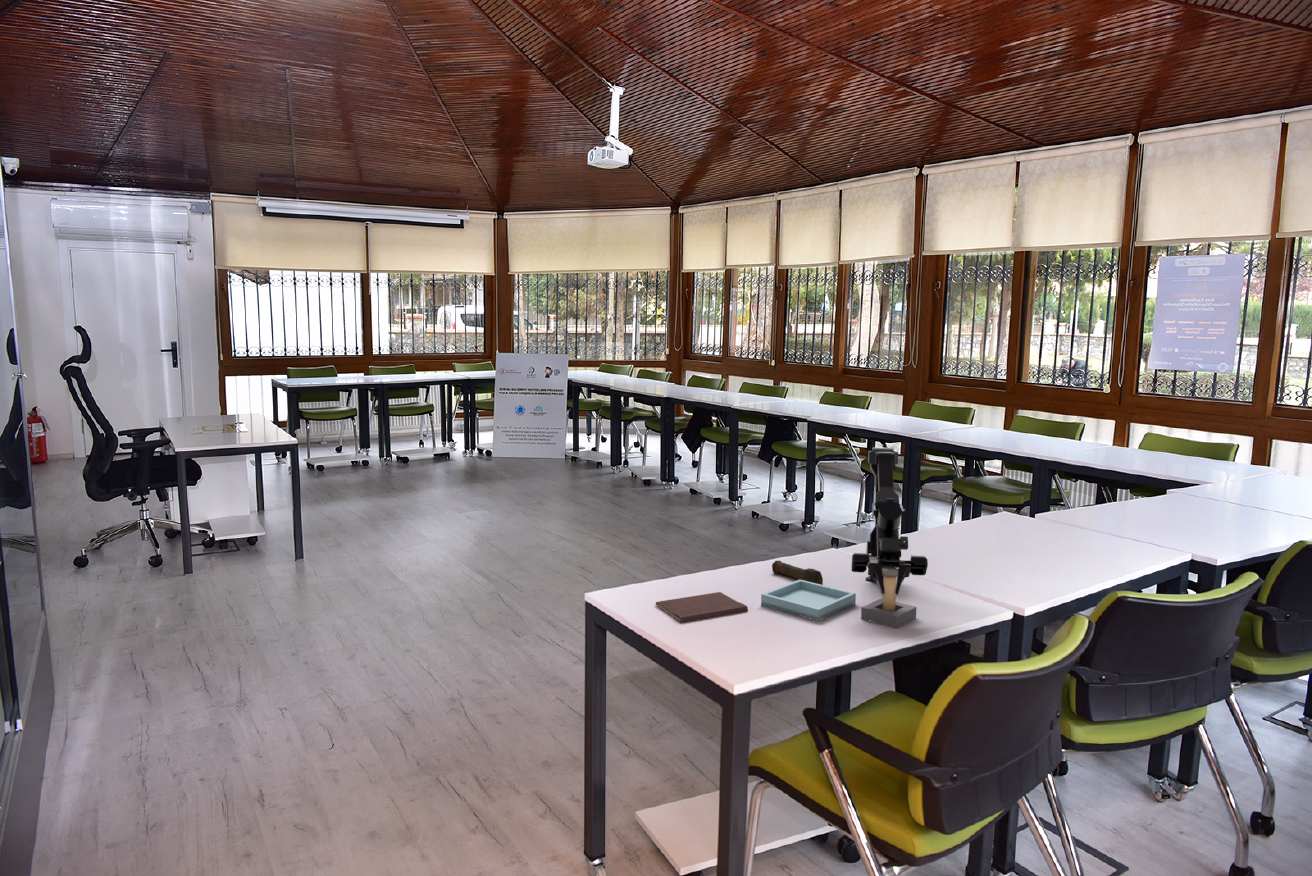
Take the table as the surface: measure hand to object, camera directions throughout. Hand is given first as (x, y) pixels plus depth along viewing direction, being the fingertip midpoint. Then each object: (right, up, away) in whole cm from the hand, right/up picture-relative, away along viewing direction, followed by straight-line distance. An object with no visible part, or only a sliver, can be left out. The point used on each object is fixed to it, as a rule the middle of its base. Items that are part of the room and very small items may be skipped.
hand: (889, 593), depth 210 cm
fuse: (0, -7, +2) cm, 7 cm away
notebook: (-47, -7, +11) cm, 49 cm away
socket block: (0, -7, +2) cm, 7 cm away
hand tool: (-17, -3, +36) cm, 40 cm away
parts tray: (-18, -5, +13) cm, 23 cm away
